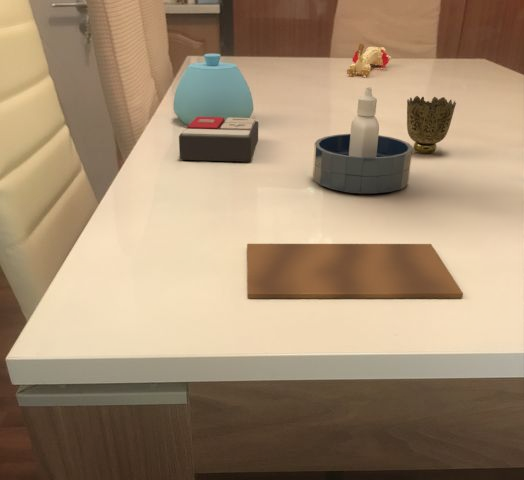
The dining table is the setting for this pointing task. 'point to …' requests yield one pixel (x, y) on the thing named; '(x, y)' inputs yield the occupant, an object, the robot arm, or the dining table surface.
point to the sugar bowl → (212, 91)
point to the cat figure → (368, 60)
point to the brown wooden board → (348, 271)
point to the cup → (428, 122)
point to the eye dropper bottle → (364, 127)
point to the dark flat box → (219, 139)
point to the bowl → (361, 165)
